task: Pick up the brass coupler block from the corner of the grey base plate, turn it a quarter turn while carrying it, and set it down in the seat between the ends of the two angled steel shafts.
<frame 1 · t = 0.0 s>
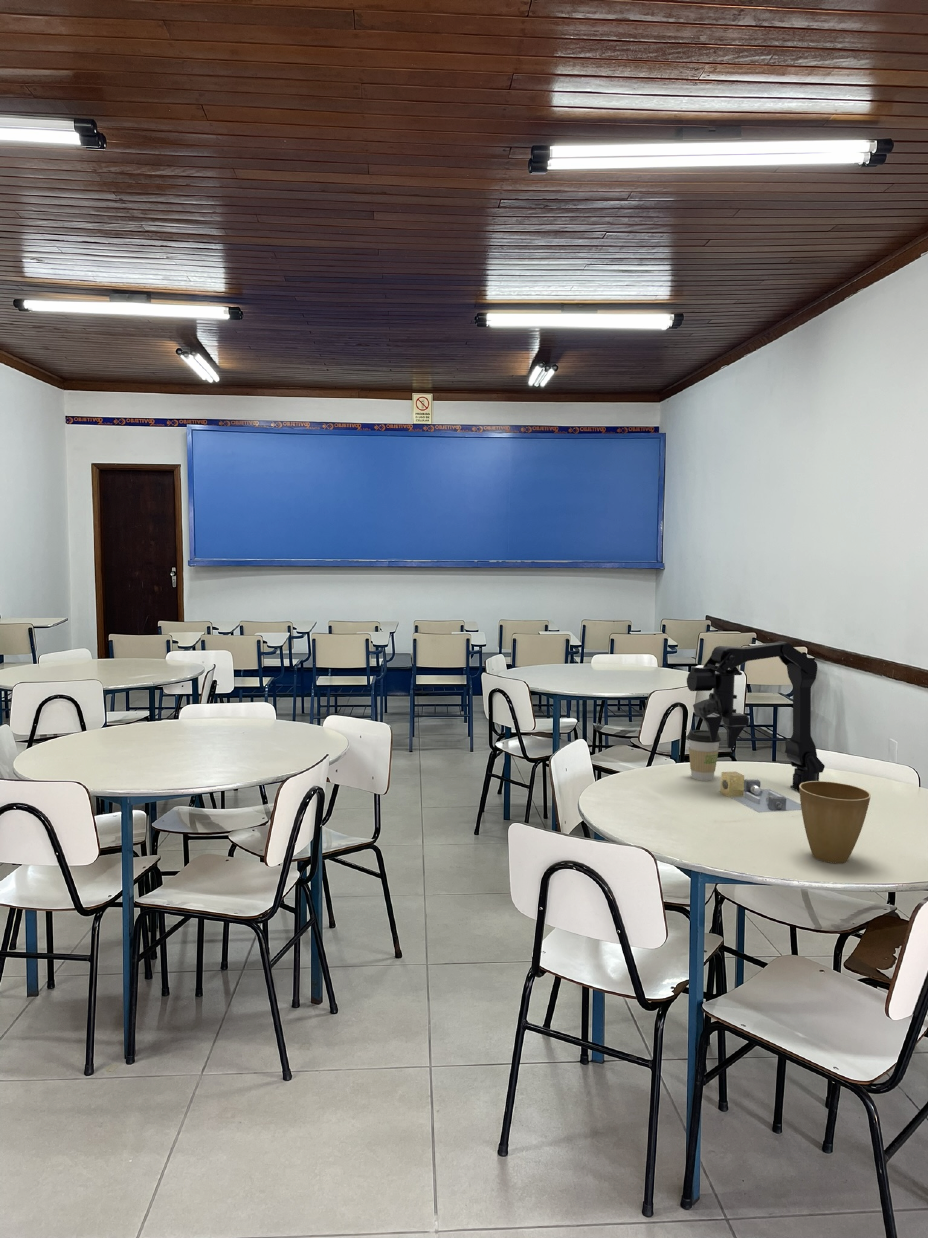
hand: (721, 744, 243), 15 cm above the table, fingers open, 9 cm apart
grey base plate: (763, 804, 235), on the table
shaft b: (773, 811, 228), resting on grey base plate
coffee cup: (702, 782, 258), on the table
coupler: (731, 794, 240), point 1 cm above the table, touching grey base plate
plant pot: (830, 859, 193), on the table
shaft a: (754, 797, 242), resting on grey base plate
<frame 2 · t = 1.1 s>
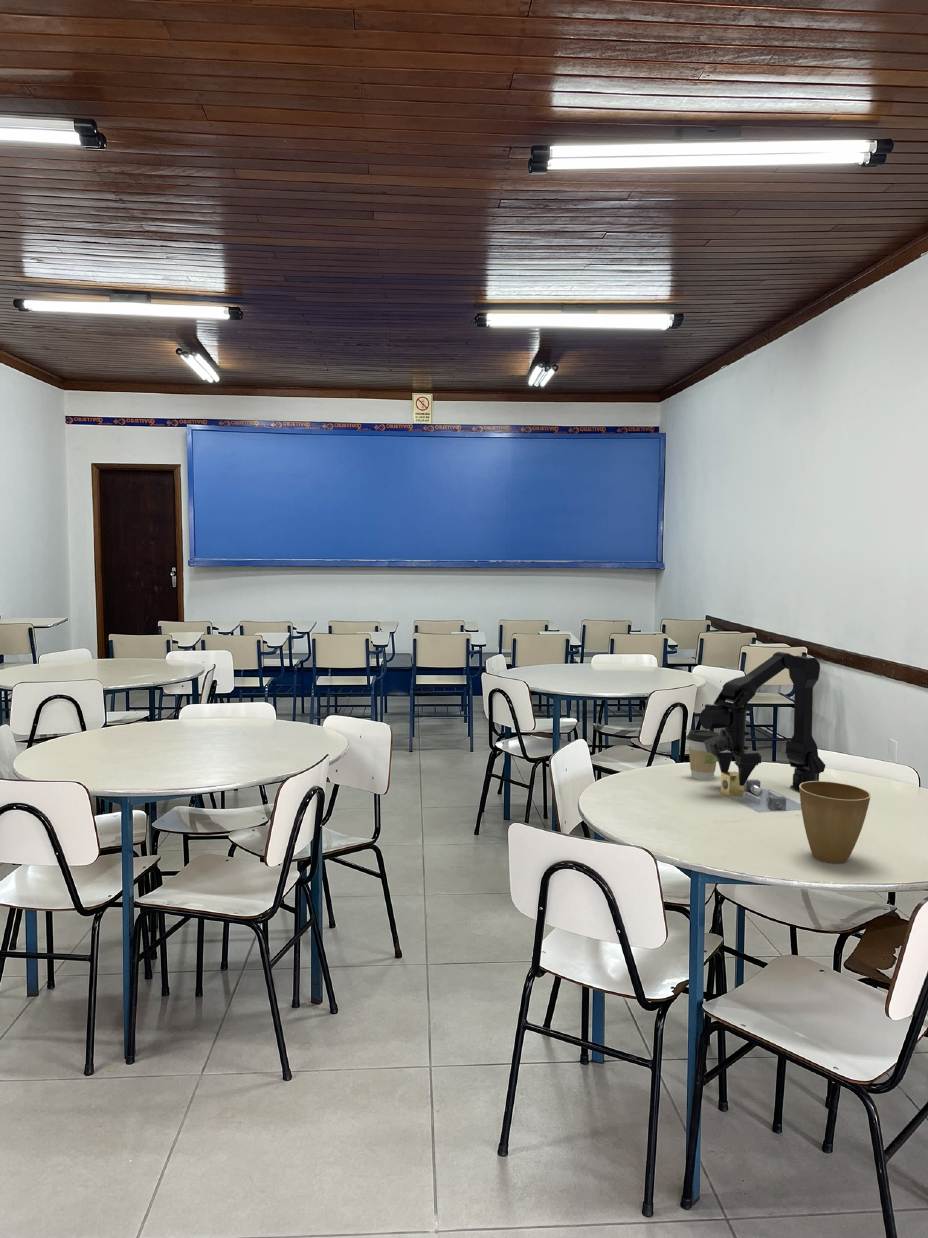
hand: (732, 781, 240), 5 cm above the table, fingers open, 9 cm apart
nothing on the table moved.
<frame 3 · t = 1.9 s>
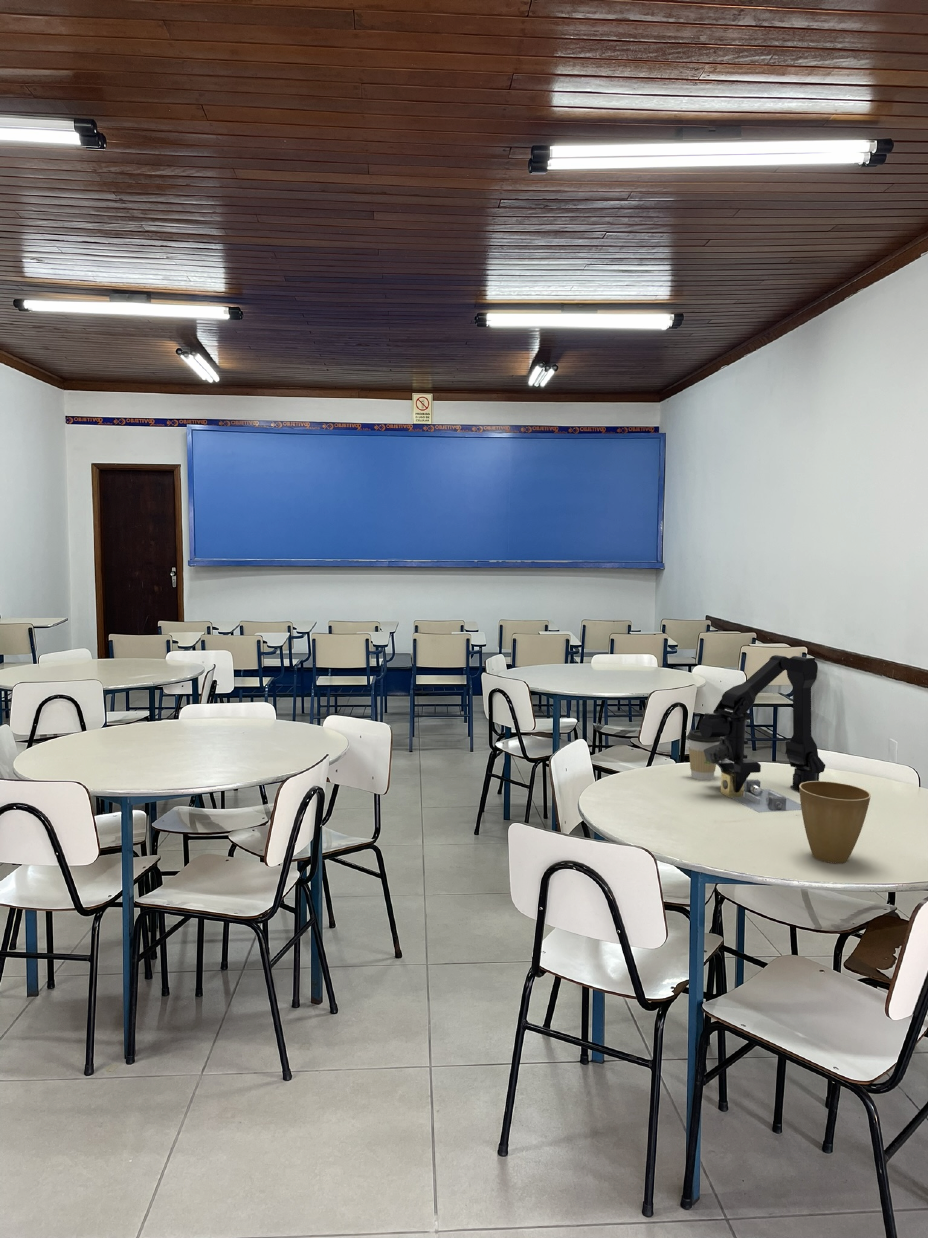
hand: (732, 790, 240), 3 cm above the table, fingers closed on coupler, 4 cm apart
coupler: (731, 794, 240), point 1 cm above the table, touching grey base plate, gripper
everything else where it was.
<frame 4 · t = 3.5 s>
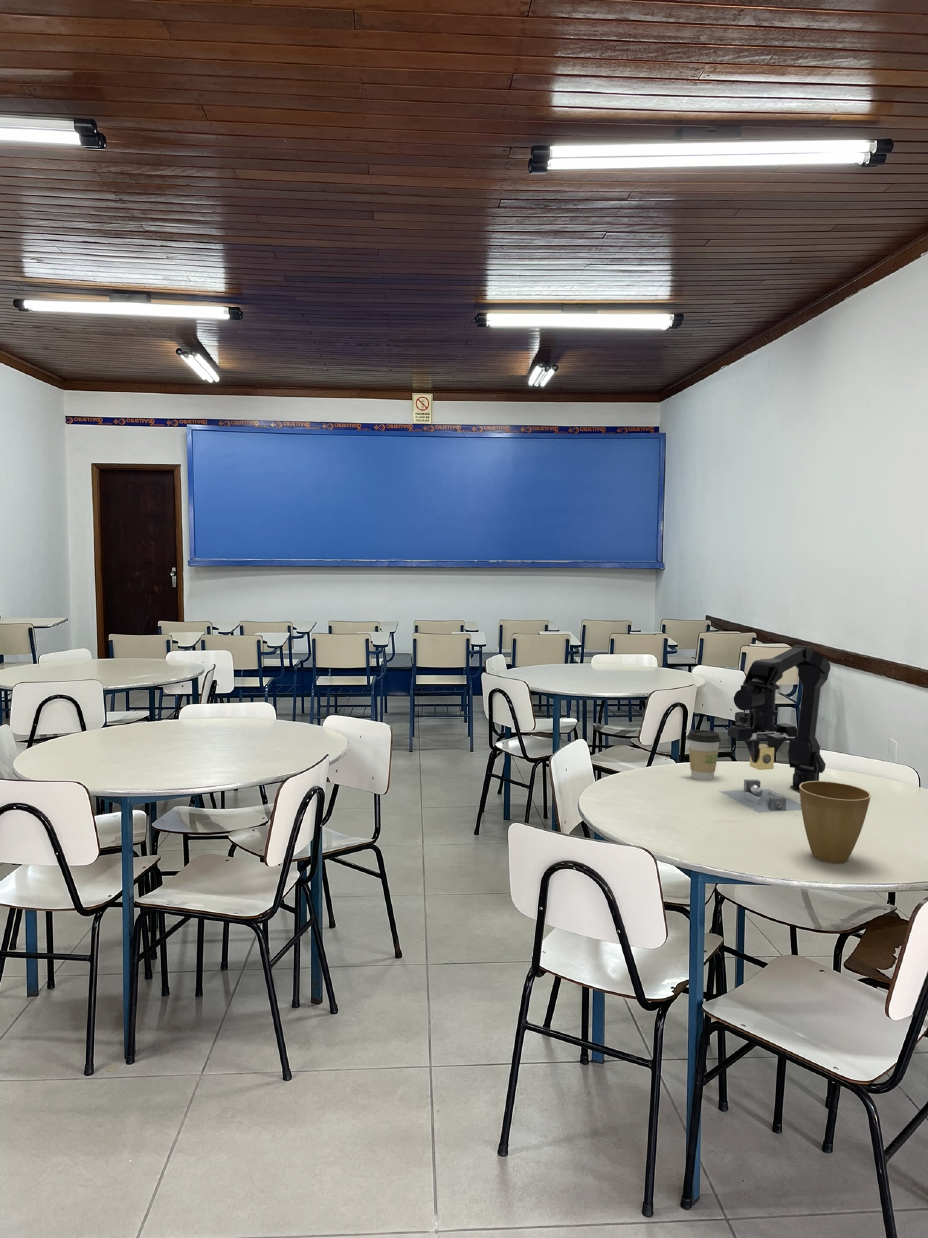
hand: (761, 762, 235), 12 cm above the table, fingers closed on coupler, 4 cm apart
coupler: (761, 767, 235), point 10 cm above the table, touching gripper
everything else where it was.
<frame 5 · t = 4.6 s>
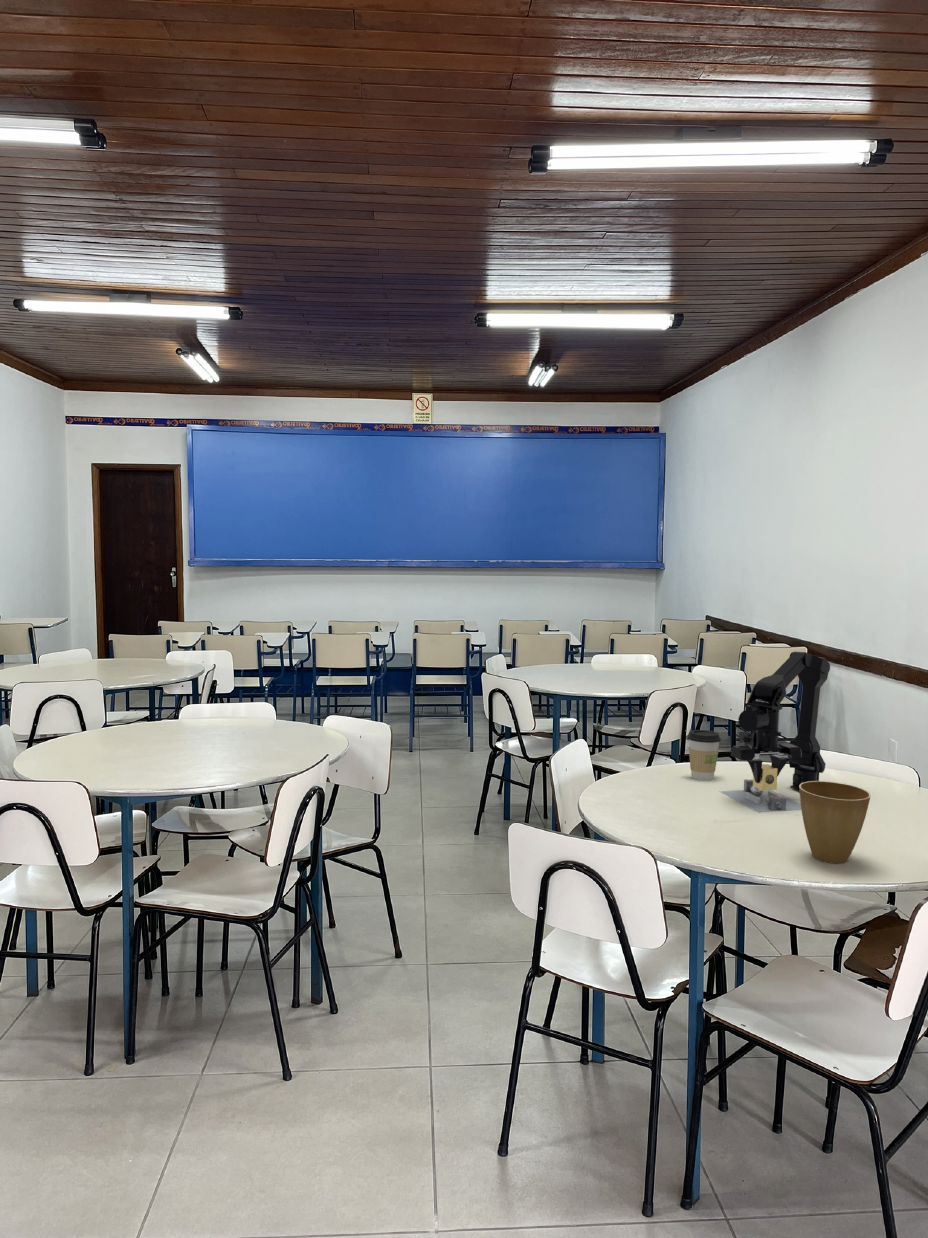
hand: (764, 782, 235), 6 cm above the table, fingers closed on coupler, 4 cm apart
coupler: (764, 787, 235), point 5 cm above the table, touching gripper
everything else where it was.
when the fingers open (4 cm above the table, at t = 5.3 s): coupler drops 1 cm, resting on grey base plate.
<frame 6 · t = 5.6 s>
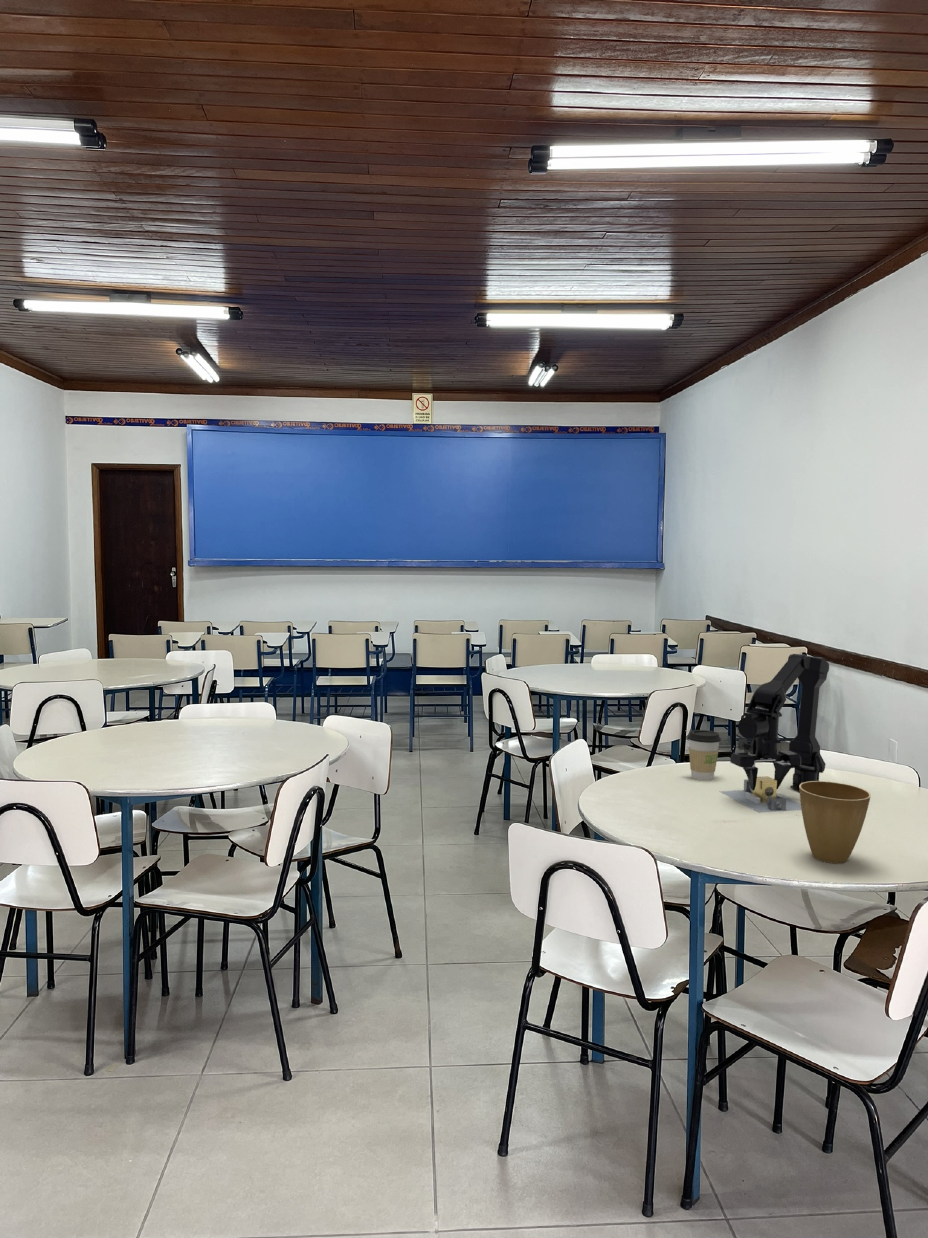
hand: (764, 789, 235), 4 cm above the table, fingers open, 7 cm apart
coupler: (764, 800, 235), point 1 cm above the table, touching grey base plate
everything else where it was.
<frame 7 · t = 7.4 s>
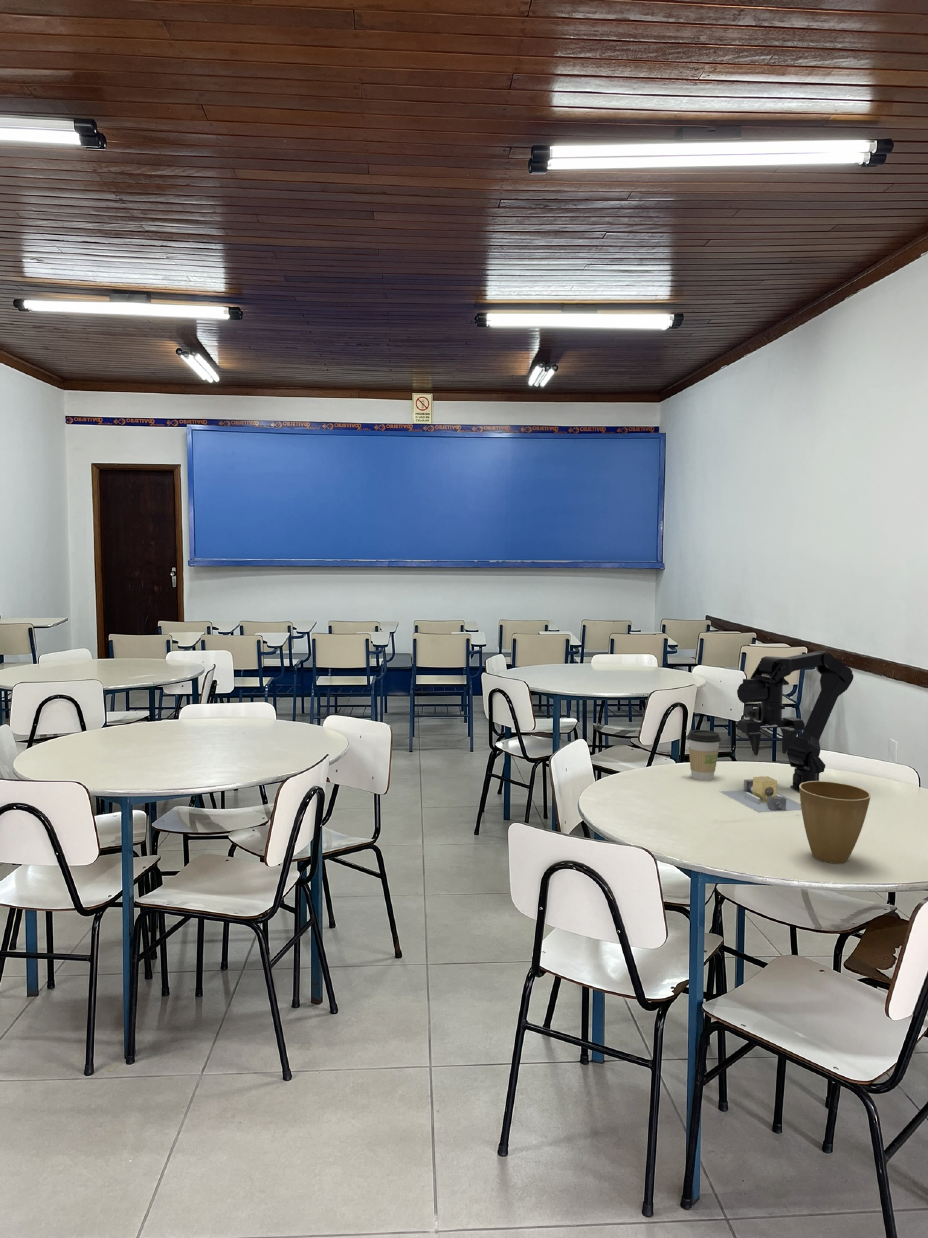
hand: (769, 754, 244), 12 cm above the table, fingers open, 9 cm apart
nothing on the table moved.
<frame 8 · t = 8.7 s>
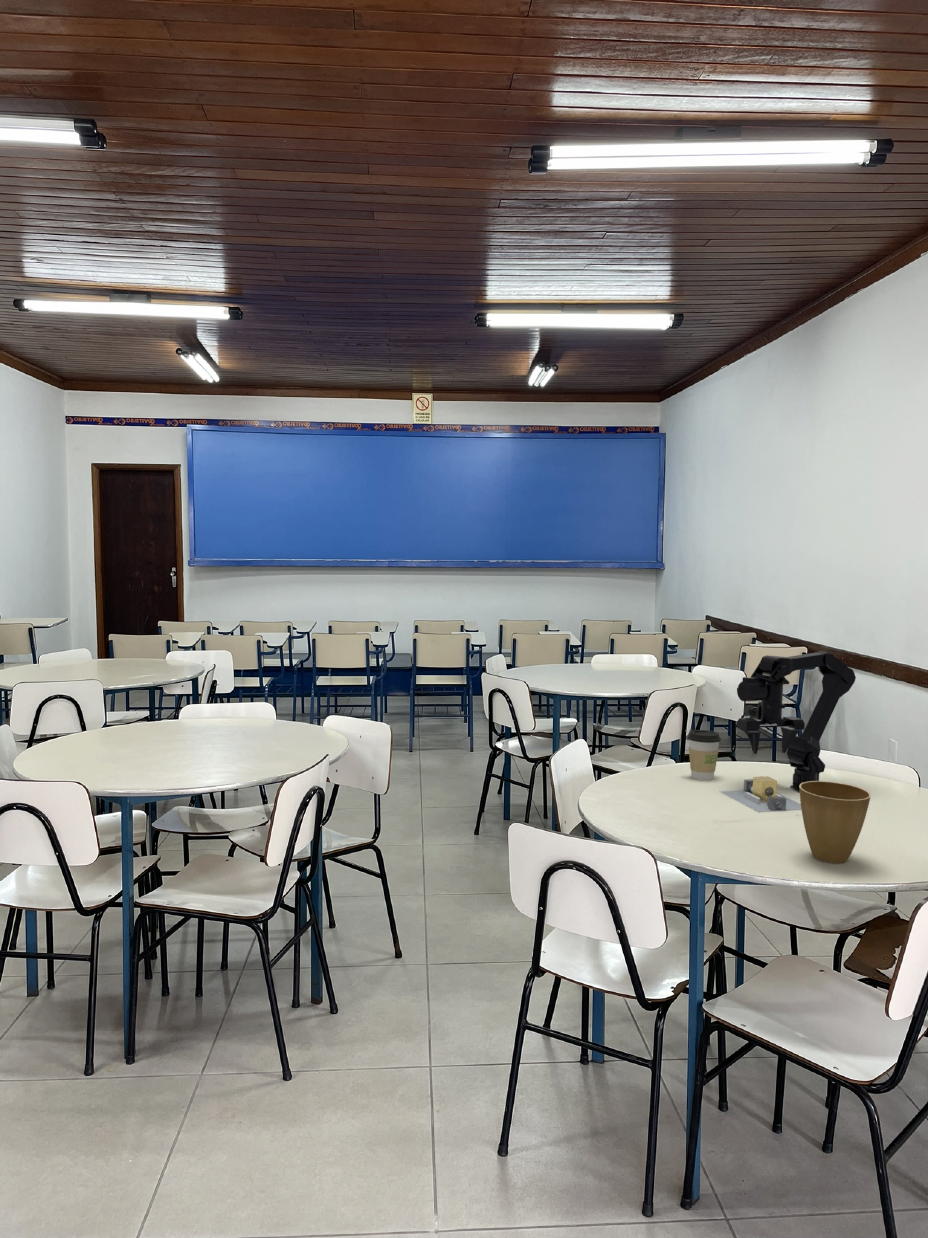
hand: (769, 753, 244), 12 cm above the table, fingers open, 9 cm apart
nothing on the table moved.
at the end: coupler 0.1 cm off-centre on the grey base plate, point 1.2 cm above the grey base plate's base; coupler tilted 0°; the gripper is holding nothing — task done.
